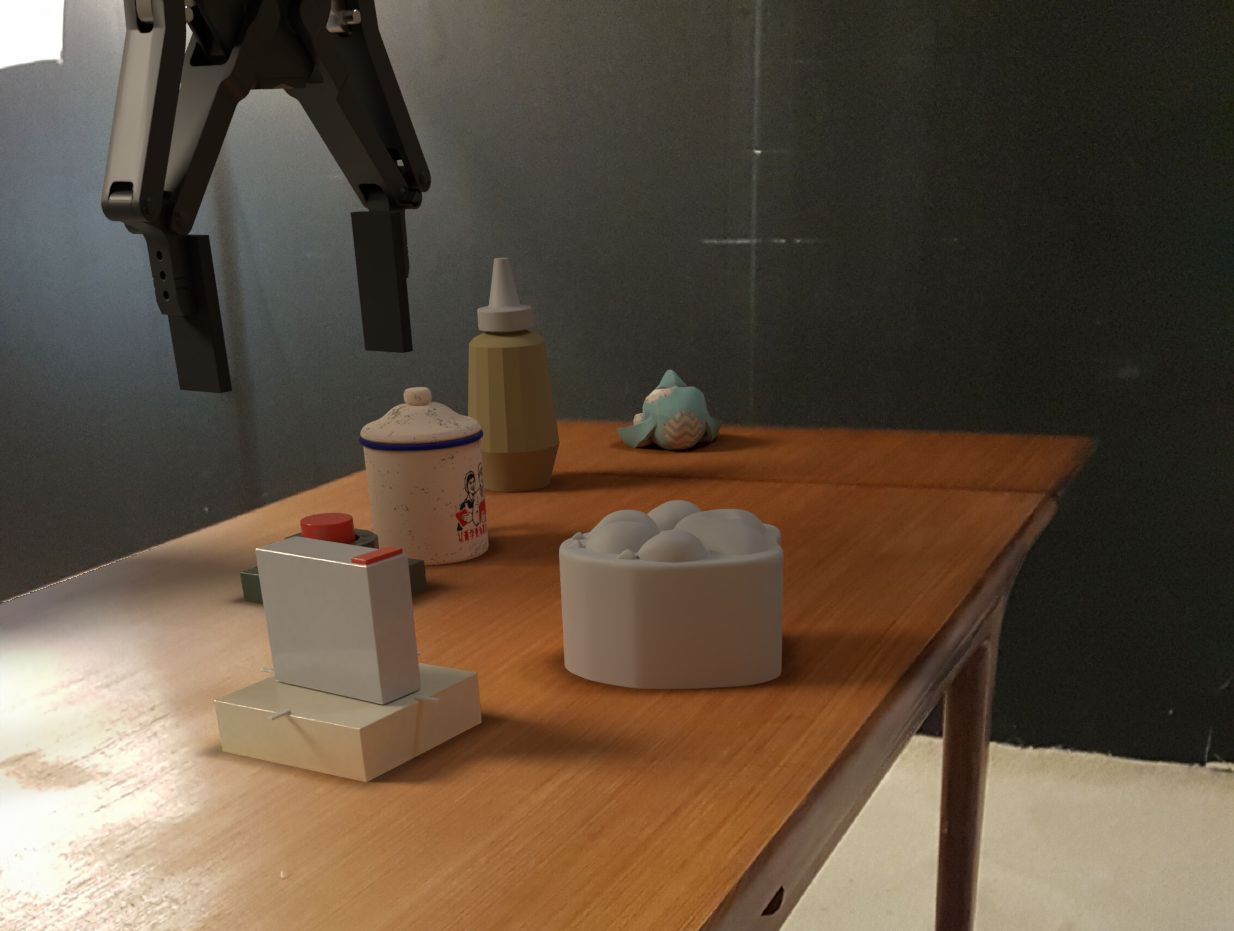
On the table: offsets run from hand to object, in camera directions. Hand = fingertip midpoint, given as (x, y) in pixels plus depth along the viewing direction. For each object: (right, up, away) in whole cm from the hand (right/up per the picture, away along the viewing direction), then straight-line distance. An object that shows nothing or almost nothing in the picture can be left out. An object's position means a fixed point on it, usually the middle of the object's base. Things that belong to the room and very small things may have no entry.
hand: (303, 370), depth 80 cm
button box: (-4, -2, +31) cm, 31 cm away
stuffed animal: (+21, +27, +74) cm, 81 cm away
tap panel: (+2, -17, +6) cm, 18 cm away
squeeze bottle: (+7, +17, +60) cm, 63 cm away
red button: (-4, +1, +29) cm, 29 cm away
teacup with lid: (+2, +5, +42) cm, 42 cm away
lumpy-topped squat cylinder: (+19, -11, +16) cm, 27 cm away
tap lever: (+2, -15, +4) cm, 15 cm away
